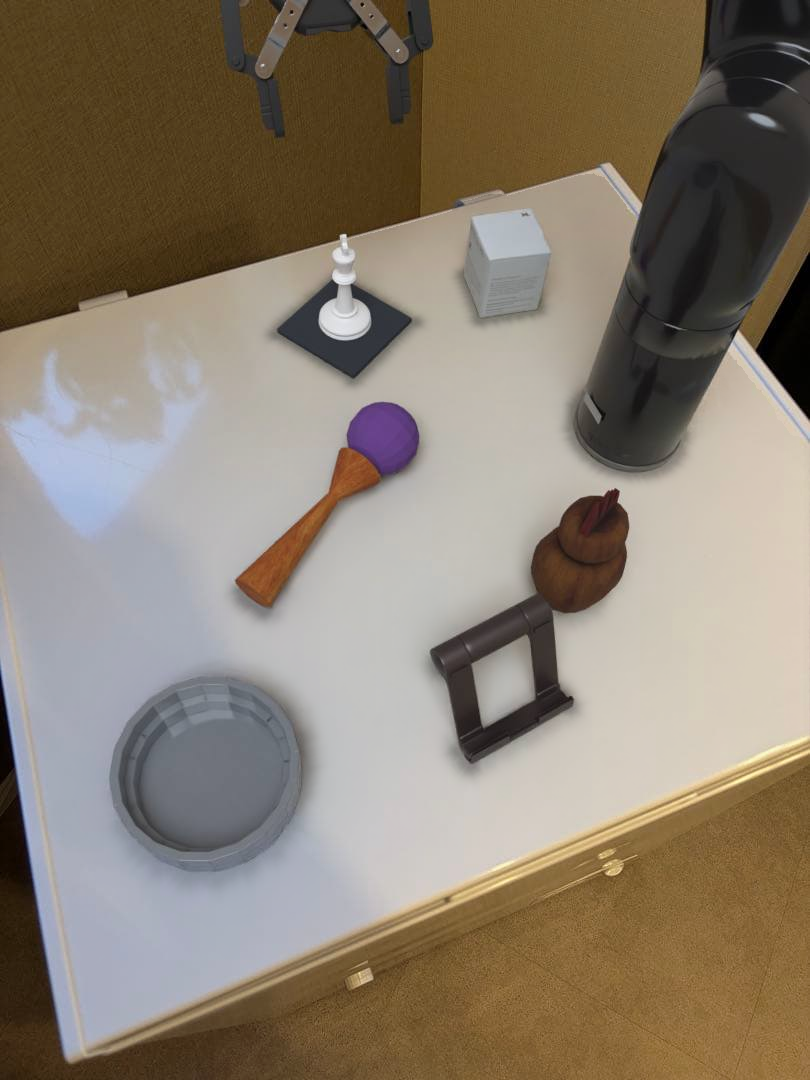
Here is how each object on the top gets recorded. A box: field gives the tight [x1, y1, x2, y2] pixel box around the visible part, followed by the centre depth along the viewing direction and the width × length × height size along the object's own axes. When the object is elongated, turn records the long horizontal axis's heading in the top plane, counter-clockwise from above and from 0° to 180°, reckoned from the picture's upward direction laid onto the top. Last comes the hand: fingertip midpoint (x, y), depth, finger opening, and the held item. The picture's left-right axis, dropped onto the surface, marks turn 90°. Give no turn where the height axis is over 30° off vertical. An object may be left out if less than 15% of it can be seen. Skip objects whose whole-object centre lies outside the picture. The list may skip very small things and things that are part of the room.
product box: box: [463, 207, 553, 319], centre depth 84 cm, size 6×6×7 cm
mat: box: [276, 278, 413, 379], centre depth 83 cm, size 9×9×1 cm
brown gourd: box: [530, 487, 630, 614], centre depth 64 cm, size 7×6×15 cm
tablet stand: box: [429, 593, 575, 765], centre depth 62 cm, size 9×8×8 cm
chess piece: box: [319, 233, 371, 340], centre depth 79 cm, size 5×5×10 cm
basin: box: [108, 676, 303, 872], centre depth 60 cm, size 12×12×4 cm
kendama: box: [234, 401, 420, 609], centre depth 71 cm, size 6×6×20 cm
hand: (339, 130), depth 64 cm, fingers open, 8 cm apart
